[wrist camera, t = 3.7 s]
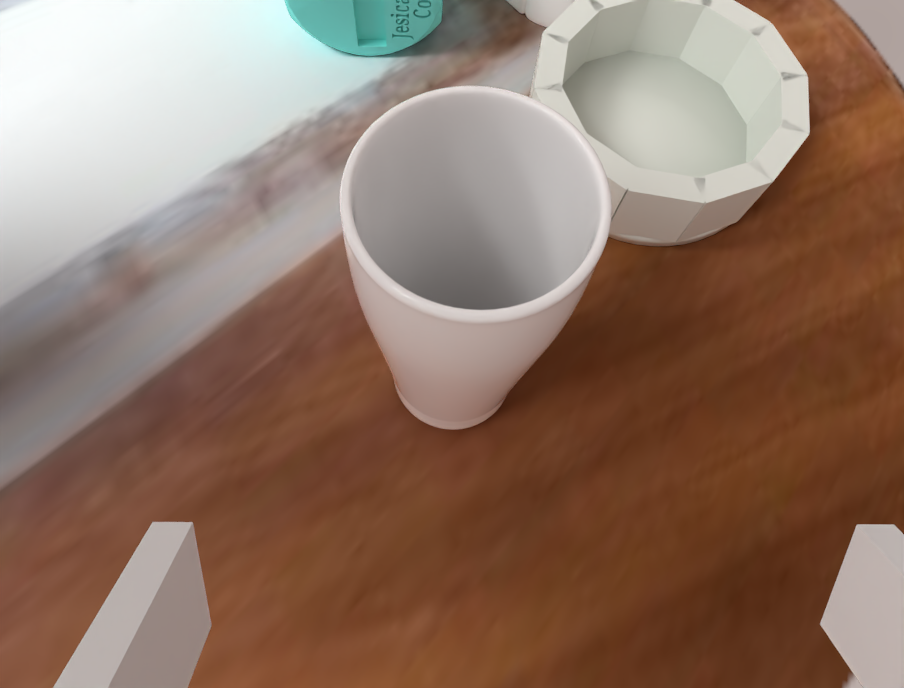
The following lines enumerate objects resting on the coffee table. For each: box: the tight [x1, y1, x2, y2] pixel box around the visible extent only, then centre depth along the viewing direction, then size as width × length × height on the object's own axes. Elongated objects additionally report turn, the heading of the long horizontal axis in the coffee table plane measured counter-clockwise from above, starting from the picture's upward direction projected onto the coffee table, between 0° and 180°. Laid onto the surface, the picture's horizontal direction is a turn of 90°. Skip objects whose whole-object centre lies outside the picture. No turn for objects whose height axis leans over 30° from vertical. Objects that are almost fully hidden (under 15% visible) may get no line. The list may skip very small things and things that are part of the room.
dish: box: [529, 0, 810, 246], centre depth 32 cm, size 13×13×4 cm
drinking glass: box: [340, 86, 612, 430], centre depth 22 cm, size 7×7×15 cm
